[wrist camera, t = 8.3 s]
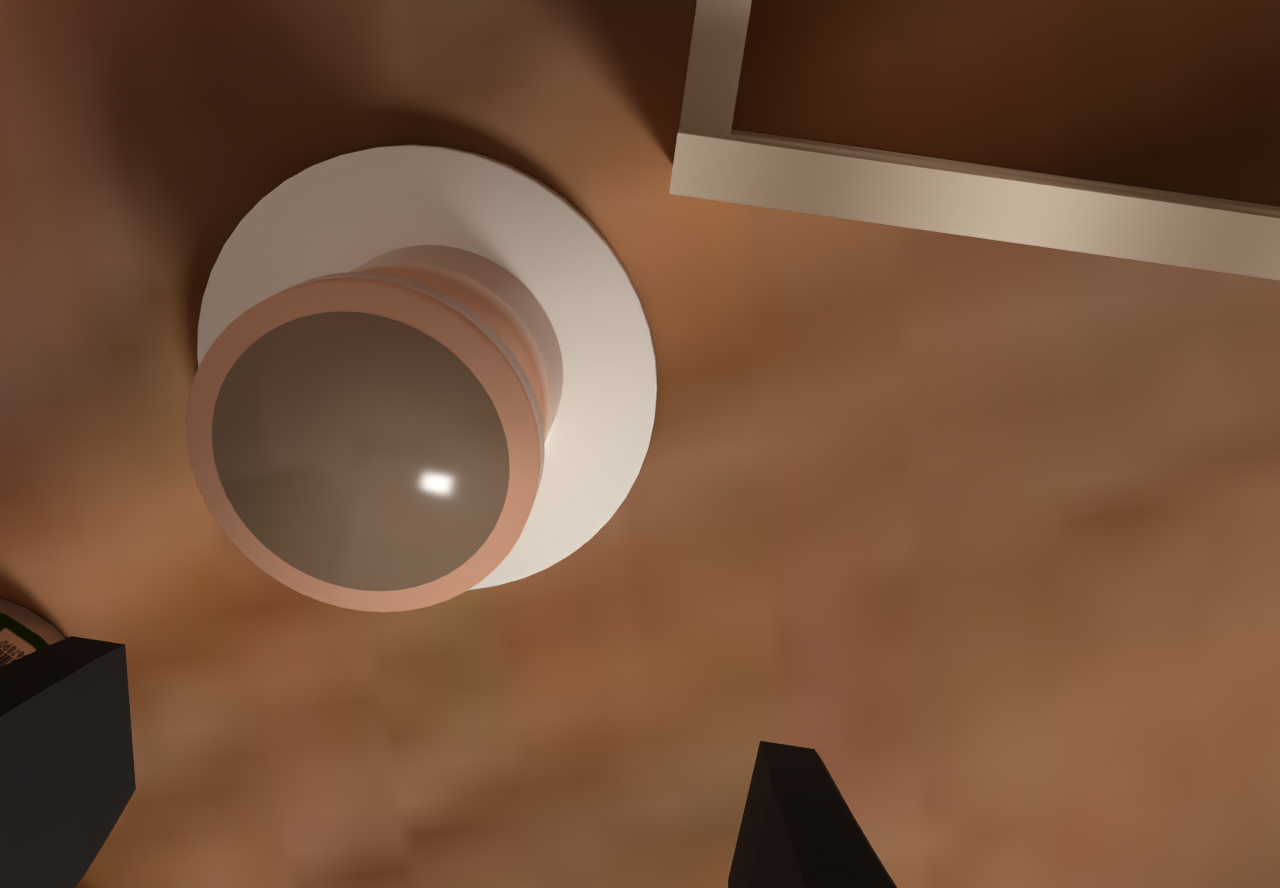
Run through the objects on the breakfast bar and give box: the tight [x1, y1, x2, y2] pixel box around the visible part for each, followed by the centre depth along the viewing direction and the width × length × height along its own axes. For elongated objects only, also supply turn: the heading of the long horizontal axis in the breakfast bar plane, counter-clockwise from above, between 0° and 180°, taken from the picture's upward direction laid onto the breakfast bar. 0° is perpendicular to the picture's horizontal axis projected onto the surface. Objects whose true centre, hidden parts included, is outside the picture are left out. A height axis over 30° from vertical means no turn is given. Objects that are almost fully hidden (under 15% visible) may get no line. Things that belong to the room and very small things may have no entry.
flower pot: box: [186, 245, 563, 612], centre depth 16 cm, size 5×5×5 cm
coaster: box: [197, 144, 657, 590], centre depth 18 cm, size 9×9×1 cm
